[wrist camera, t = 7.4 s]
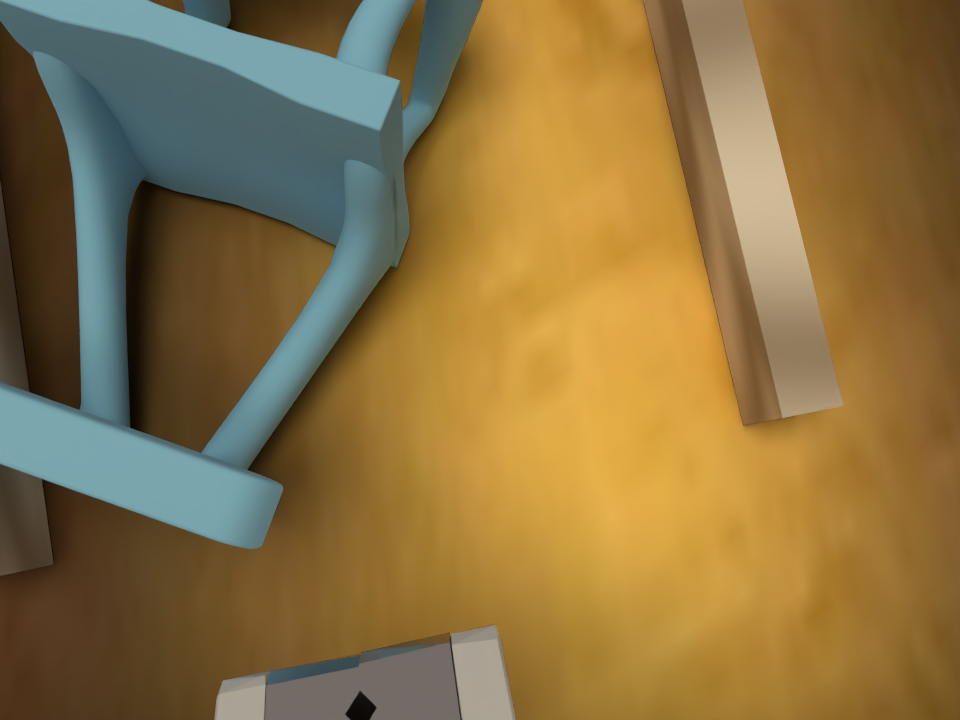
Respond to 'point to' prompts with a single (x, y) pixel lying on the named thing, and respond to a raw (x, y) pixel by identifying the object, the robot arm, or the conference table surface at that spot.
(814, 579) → the conference table surface
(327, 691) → the robot arm
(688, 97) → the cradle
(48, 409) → the chair
